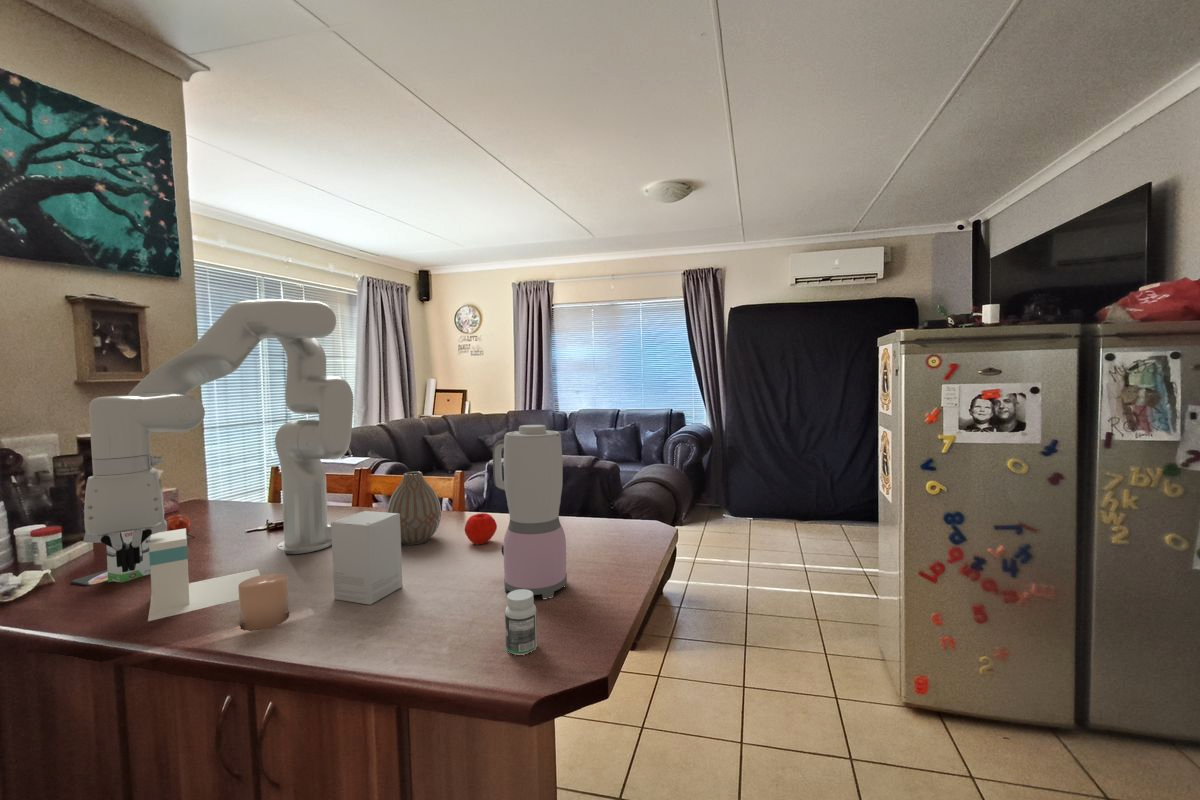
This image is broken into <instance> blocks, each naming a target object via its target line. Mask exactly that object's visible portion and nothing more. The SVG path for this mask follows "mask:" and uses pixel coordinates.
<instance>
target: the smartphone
mask: <svg viewBox="0 0 1200 800" xmlns="http://www.w3.org/2000/svg"><path fill="white" fill-rule="evenodd" d="M70 583H71V585H76V586H82V587H91V586H96V585H101V584H105V583H106V584H107V583H109V582H108V569H106V570H101V571H99V572H95V573H92V574H89V575H85V576H82V577H79V578H76V579H73V580H71V582H70Z"/></svg>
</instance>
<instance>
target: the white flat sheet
mask: <svg viewBox="0 0 1200 800" xmlns="http://www.w3.org/2000/svg"><path fill="white" fill-rule="evenodd" d="M260 575H261V573H260V571H259V569H258V568H256V569H252V570H247V571H242V572H238V573H233V574H232V573H231V574H227V575H223V576H218V577H212V578H207V579H204V580H199V581H195V582H194V581H193V582H189V603H190V604H187V605H183V606H179V607H174V608H170V609H165V610H161V611H157V612H153V607H152V595H150V603H149V612H148V618H147V622H153V621H156V620H159V619H160V620H161V619H164V618H168V617H172V616H176V615H181V614H185V613H189V612H193V611H198V610H201V609H207V608H211V607H216V606H219V605H223V604H228V603H233V602H235V601H239V589H238V586H239V584H240V583H241V582H243V581H245V580H247V579H250V578H252V577H256V576H260Z"/></svg>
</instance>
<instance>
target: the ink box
mask: <svg viewBox="0 0 1200 800" xmlns="http://www.w3.org/2000/svg"><path fill="white" fill-rule="evenodd" d="M165 522H166V525H167V521H165ZM145 529H146V528H145ZM143 530H144V529H143ZM133 531H134V530H132V531H126V532H121V534H122V537H123V541H124V542H125V543H126V545H127V546H128V548H129V546H130V542H131V541H132V538H133ZM166 531H167V529H166V530H164V531H161V532H166ZM150 538H151V535H150V536H149V537H148V538H147V539H146V540H145V541H144V542H143V543H142V544H140V563H138V564H136V567H135V570H133V571H131V570H129V569H128V571H126V572H122V567H117V561H116V550H114V549H113V548H111V547H110V546H108V545H106V563H107V568H106V570H108V582H107V583H111V582H116V583H124V582H128V581H131V580H135V579H138V578H141V577H144V576H148V575H151V571H150V560H149V543H150Z"/></svg>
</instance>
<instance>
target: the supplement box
mask: <svg viewBox="0 0 1200 800" xmlns="http://www.w3.org/2000/svg"><path fill="white" fill-rule="evenodd" d="M330 526H331V535H332V545H331V555H332V572H333V573H332V574H333V575H332V576H333V577H332V578H333V597H334V600H336V601H343V602H350V603H355V604H356V603H357V604H363V605H372V604H374V603H376V602H378V601H379V600H381V599H383V598H385V597H387V596H389V595H390V594H392V593H394V592H395V591H398V590H400V588H403V565H402V563H403V561H402V560H403V559H402V543H401V530H400V514H398V513H387V511H386V512H385V511H373V510H371V511H370V510H364V511H359V512H357V513H354V514H350V515H348V516H345V517H342V518H338V519H335V520H334V521H331V522H330Z"/></svg>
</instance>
